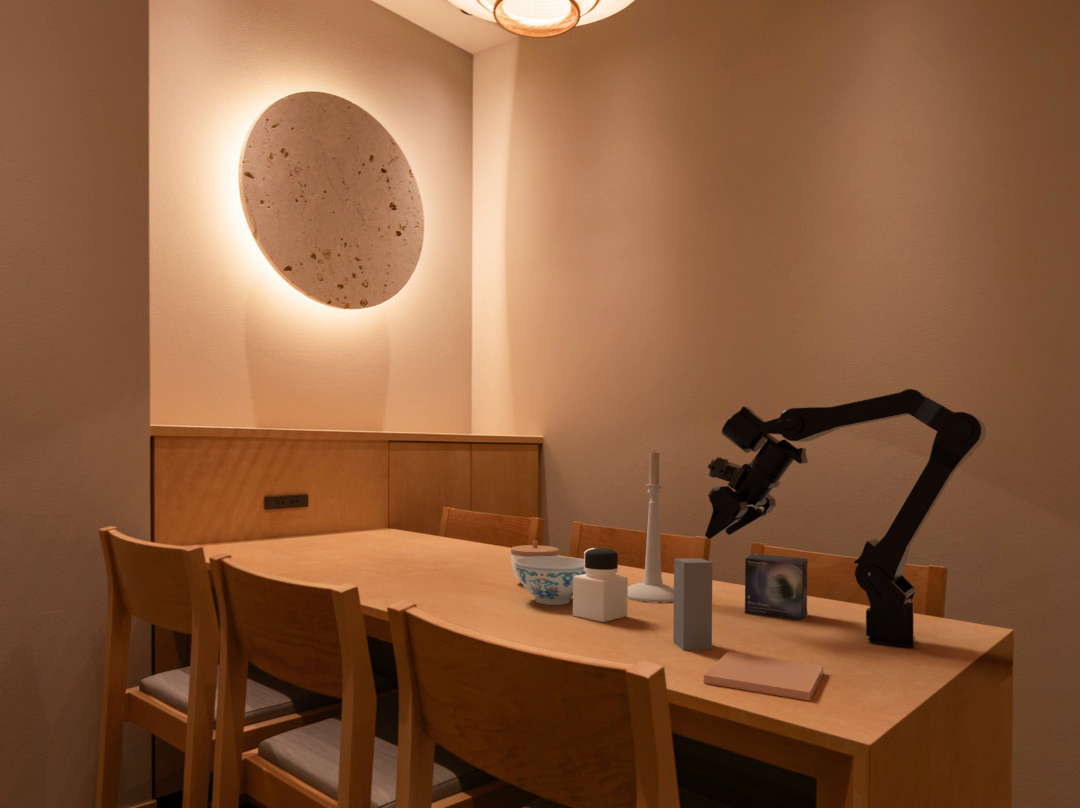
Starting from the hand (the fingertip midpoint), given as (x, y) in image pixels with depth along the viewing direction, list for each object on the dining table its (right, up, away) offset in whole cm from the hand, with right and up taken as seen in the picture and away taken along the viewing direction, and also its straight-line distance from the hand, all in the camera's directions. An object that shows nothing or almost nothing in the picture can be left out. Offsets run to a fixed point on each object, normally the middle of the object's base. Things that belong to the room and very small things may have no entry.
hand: (717, 535), depth 138 cm
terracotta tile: (-3, -12, -40) cm, 41 cm away
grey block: (-10, -13, -24) cm, 29 cm away
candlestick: (-10, -15, +15) cm, 23 cm away
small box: (+11, -15, 0) cm, 19 cm away
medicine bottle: (-22, -14, -5) cm, 27 cm away
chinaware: (-31, -14, +7) cm, 35 cm away
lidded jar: (-34, -16, +26) cm, 46 cm away
